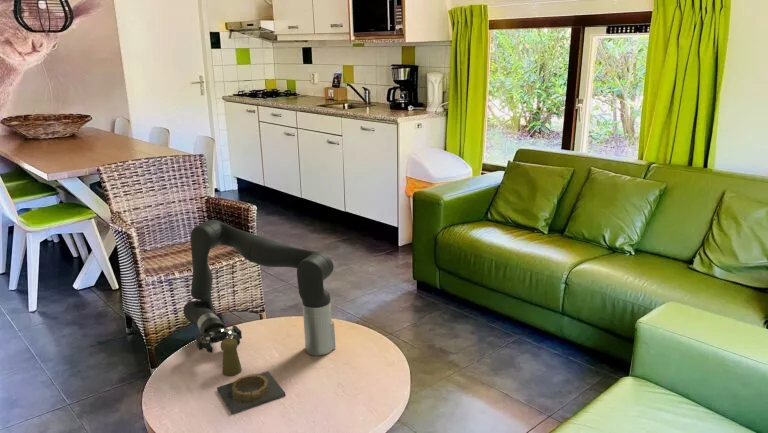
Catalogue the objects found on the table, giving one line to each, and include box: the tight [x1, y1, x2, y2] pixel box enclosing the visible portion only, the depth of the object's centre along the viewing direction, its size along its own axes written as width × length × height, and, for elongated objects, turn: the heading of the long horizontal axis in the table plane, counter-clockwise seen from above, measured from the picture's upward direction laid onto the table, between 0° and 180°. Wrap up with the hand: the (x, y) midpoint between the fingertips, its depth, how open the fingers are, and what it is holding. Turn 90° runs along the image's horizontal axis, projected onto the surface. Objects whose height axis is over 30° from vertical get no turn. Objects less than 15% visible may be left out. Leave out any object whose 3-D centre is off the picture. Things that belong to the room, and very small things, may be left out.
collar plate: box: [216, 371, 286, 415], centre depth 170 cm, size 16×14×3 cm
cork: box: [220, 337, 243, 377], centre depth 181 cm, size 6×6×11 cm
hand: (224, 346), depth 185 cm, fingers open, 8 cm apart
